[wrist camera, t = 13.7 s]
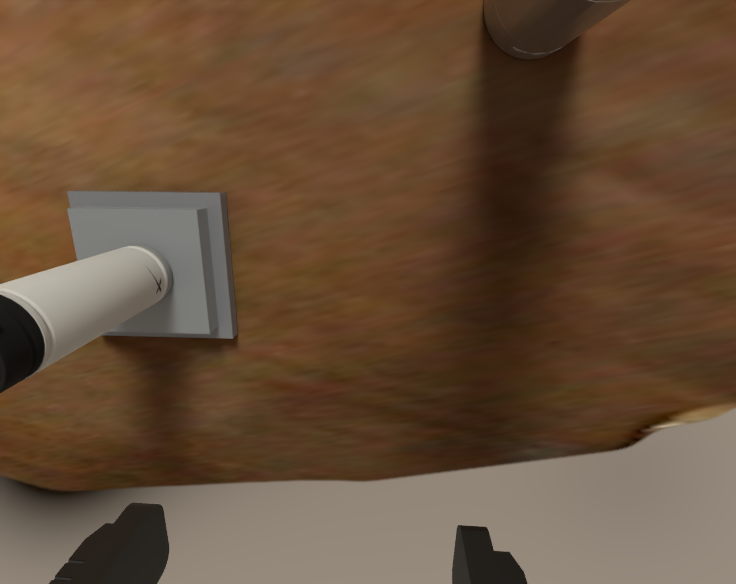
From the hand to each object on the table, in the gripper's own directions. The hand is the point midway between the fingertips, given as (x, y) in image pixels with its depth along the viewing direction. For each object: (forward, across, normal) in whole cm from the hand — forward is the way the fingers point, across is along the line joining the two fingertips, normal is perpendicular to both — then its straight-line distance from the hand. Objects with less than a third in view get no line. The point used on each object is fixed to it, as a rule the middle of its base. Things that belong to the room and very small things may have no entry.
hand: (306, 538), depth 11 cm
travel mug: (+32, +23, +2) cm, 39 cm away
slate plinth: (+35, +23, +2) cm, 42 cm away
